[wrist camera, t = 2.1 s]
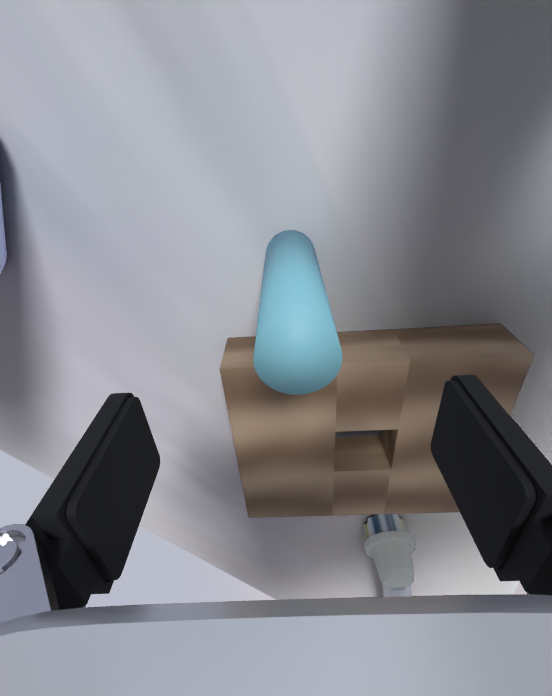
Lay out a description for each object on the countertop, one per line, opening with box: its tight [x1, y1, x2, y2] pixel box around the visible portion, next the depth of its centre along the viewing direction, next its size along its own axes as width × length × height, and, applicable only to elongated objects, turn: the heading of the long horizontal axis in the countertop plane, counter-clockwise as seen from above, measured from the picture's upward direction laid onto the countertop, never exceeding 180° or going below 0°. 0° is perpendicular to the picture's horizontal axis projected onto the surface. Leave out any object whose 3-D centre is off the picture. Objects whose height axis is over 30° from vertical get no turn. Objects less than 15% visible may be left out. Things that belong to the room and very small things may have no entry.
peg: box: [253, 230, 342, 395], centre depth 17 cm, size 3×3×12 cm
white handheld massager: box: [363, 514, 415, 597], centre depth 42 cm, size 5×7×25 cm
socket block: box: [220, 324, 535, 518], centre depth 28 cm, size 17×20×4 cm
